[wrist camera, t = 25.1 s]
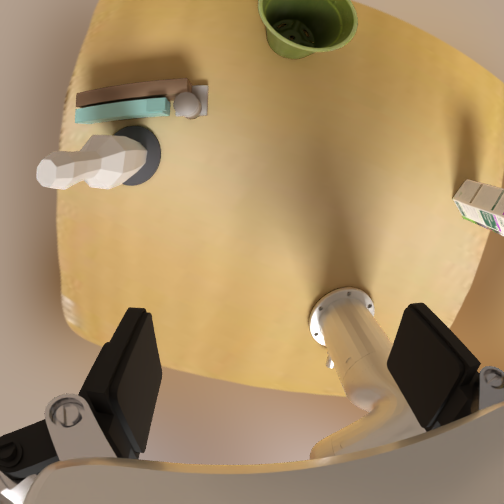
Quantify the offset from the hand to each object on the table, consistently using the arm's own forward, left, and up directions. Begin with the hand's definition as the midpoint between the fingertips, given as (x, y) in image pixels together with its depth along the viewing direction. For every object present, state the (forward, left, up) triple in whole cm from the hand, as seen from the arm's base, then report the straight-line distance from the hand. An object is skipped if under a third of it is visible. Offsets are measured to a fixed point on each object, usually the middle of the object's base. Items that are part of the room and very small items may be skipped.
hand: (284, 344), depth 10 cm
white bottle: (+5, +17, -34) cm, 38 cm away
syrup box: (+2, -42, -34) cm, 54 cm away
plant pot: (+24, -6, -34) cm, 42 cm away
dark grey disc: (+6, +17, -34) cm, 39 cm away
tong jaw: (+12, +17, -33) cm, 39 cm away
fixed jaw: (+13, +15, -34) cm, 40 cm away
